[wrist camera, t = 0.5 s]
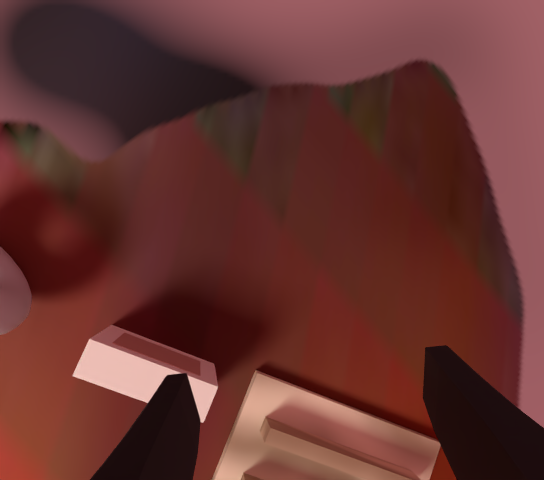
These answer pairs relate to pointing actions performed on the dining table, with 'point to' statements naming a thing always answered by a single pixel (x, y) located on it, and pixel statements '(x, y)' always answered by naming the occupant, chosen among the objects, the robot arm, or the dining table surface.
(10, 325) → the donut
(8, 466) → the dining table surface
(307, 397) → the notched stand
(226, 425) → the dining table surface
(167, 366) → the pale pink flat block
